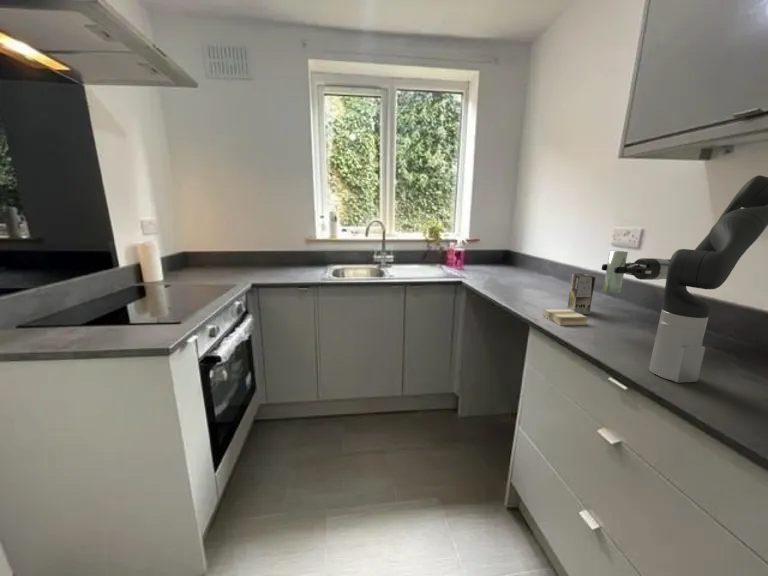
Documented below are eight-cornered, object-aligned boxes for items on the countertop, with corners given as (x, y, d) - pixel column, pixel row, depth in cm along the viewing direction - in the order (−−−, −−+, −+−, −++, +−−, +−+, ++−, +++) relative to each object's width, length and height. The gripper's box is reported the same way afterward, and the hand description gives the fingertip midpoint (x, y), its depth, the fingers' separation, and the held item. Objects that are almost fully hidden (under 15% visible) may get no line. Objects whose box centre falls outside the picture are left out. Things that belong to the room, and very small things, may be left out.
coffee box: (589, 314, 146) (596, 277, 143) (573, 313, 147) (579, 276, 144) (582, 309, 155) (588, 273, 151) (566, 307, 156) (572, 272, 153)
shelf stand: (586, 324, 133) (587, 317, 132) (559, 325, 131) (561, 317, 131) (567, 315, 144) (568, 308, 143) (543, 316, 142) (544, 309, 141)
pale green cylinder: (624, 292, 120) (631, 252, 117) (610, 292, 120) (617, 252, 117) (612, 289, 125) (619, 250, 122) (599, 289, 125) (606, 250, 122)
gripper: (636, 255, 129) (595, 255, 126) (673, 261, 115) (627, 260, 113) (633, 275, 131) (592, 275, 128) (668, 283, 117) (623, 283, 114)
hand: (609, 268), depth 120 cm, fingers closed on pale green cylinder, 5 cm apart
